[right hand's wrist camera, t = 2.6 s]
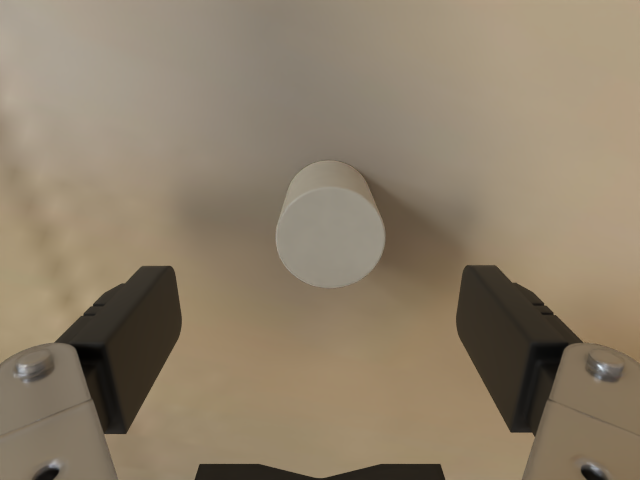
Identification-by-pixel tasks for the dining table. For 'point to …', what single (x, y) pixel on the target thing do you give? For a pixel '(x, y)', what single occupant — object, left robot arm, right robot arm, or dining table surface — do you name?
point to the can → (330, 226)
